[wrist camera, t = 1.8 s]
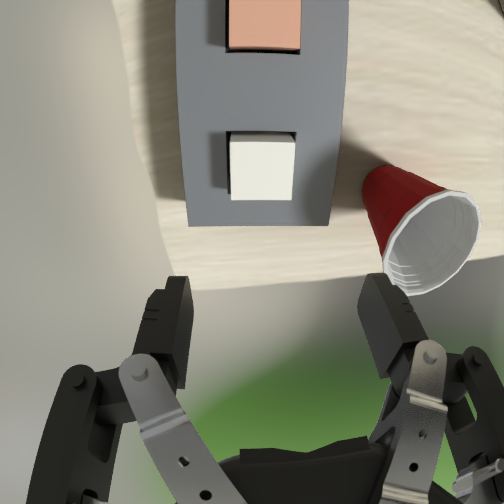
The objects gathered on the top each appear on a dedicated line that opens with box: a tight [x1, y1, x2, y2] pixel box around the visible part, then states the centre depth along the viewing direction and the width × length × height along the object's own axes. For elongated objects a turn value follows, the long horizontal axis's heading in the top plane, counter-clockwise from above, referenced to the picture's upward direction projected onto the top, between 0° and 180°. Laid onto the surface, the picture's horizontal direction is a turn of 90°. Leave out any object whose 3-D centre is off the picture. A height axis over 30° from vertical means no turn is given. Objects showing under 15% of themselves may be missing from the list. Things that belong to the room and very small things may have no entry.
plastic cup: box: [362, 165, 481, 296], centre depth 26 cm, size 11×11×12 cm
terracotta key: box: [229, 0, 301, 51], centre depth 17 cm, size 5×5×4 cm
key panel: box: [175, 0, 349, 227], centre depth 22 cm, size 13×24×5 cm, turn 179°
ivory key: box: [230, 131, 295, 200], centre depth 24 cm, size 5×5×4 cm
